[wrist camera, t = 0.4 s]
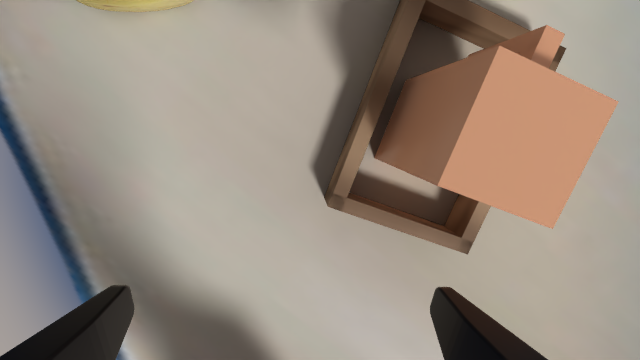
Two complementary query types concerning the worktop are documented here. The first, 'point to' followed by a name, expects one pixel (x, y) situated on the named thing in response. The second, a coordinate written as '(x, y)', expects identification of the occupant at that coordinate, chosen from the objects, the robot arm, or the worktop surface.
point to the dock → (433, 7)
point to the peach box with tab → (499, 127)
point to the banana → (134, 4)
